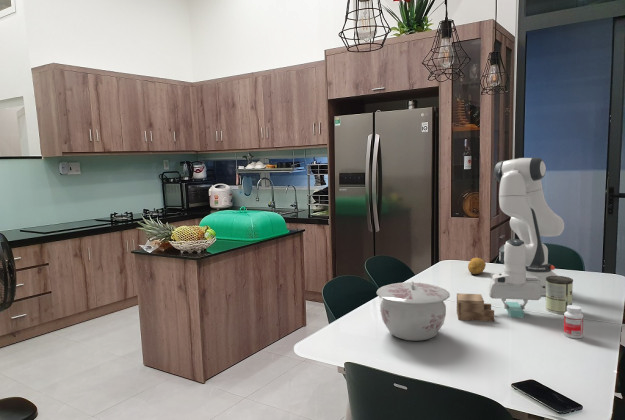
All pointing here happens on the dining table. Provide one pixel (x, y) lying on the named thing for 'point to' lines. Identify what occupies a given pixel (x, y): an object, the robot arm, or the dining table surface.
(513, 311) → the teal rectangular block
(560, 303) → the coffee can
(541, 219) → the robot arm
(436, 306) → the chamber pot
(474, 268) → the potato
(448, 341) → the dining table surface
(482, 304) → the wooden stepped block
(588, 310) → the dining table surface
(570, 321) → the pill bottle
